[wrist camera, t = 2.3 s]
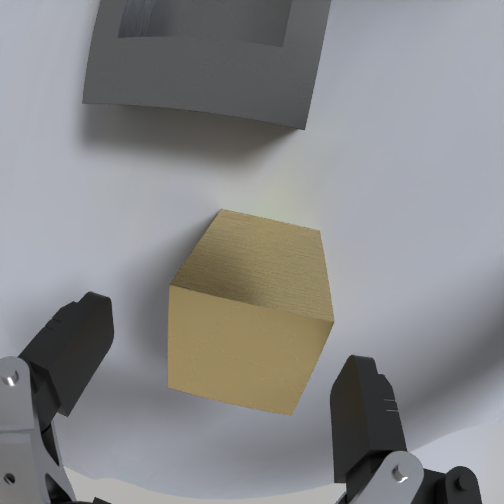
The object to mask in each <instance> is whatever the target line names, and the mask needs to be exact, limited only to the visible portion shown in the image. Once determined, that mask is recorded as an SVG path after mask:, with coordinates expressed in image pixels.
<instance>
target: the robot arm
mask: <svg viewBox="0 0 504 504" xmlns="http://www.w3.org/2000/svg"><path fill="white" fill-rule="evenodd" d="M113 338H114V326H113V315H112V303H111V299H110V298H109V297H106V296H103V295H99V294H96V293H93V292H88V293H86V294H85V295H84V297H83V298H82V299H81V300H80V301H79V302H78V303H76V302H74V301H73V302H71V303H69V304H68V305H66V306H64V307H62V308H60V310H59V311H58V312H57V313H56V314H55V315H54V316H53V317H52V320H49V322H48V323H47V324H46V325H45V328H44V327H43V328H42V329H41V331H40V332H39V333H38V334H37V335H36V336H35V337H34V339H33V340H32V341H31V342H30V343H29V344H28V346H27V347H26V348H25V349H24V350H23V351H22V353H21V354H20V355H19V356H18V357H13V356H9V357H4V358H2V359H0V504H111V503H108V502H106V501H103V500H101V499H99V498H96V497H95V498H94V501H93V503H90V502H82V501H77V500H76V498H75V494H74V492H73V489H72V486H71V484H70V482H69V479H68V478H67V475H66V473H65V470H64V467H63V463H62V459H61V455H60V450H59V446H58V441H57V436H56V431H55V426H54V421H53V418H54V416H55V414H56V413H57V412H58V413H60V414H62V415H64V416H66V417H68V416H69V414H70V413H71V411H72V409H73V407H74V406H75V404H76V402H77V401H78V399H79V397H80V396H81V394H82V392H83V391H84V389H85V387H86V386H87V384H88V382H89V381H90V379H91V378H92V376H93V374H94V373H95V371H96V370H97V368H98V366H99V365H100V363H101V362H102V360H103V358H104V357H105V355H106V354H107V352H108V351H109V349H110V347H111V345H112V342H113ZM330 409H331V423H332V440H333V460H334V483H346V488H347V489H346V490H347V491H346V492H344V493H343V494H342V496H341V497H340V498H339V499H338V501H337V502H336V503H335V504H482V500H481V495H480V490H479V485H478V481H477V478H476V476H475V474H474V473H473V472H472V471H471V470H470V469H468V468H467V467H463V466H457V467H454V468H453V469H451V470H450V471H449V472H447V473H446V474H444V473H440V472H436V471H431V470H427V469H424V468H423V466H422V464H421V462H420V461H419V459H418V458H417V457H416V456H414V455H413V454H411V453H409V452H408V451H407V448H406V443H405V438H404V434H403V429H402V425H401V421H400V417H399V412H397V410H398V408H397V404H396V402H395V396H394V393H393V389H392V386H391V385H390V383H389V382H388V380H387V379H386V377H385V376H384V375H382V374H378V373H377V369H376V365H375V361H374V359H373V358H370V357H363V356H356V355H351V356H349V358H348V359H347V361H346V363H345V365H344V366H343V368H342V370H341V372H340V374H339V375H338V377H337V379H336V381H335V382H334V384H333V387H332V390H331V394H330Z"/></svg>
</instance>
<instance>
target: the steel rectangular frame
mask: <svg viewBox="0 0 504 504" xmlns="http://www.w3.org/2000/svg"><path fill="white" fill-rule="evenodd" d="M330 3H331V0H101V2H100V6H99V10H98V14H97V18H96V23H95V27H94V32H93V37H92V42H91V47H90V52H89V58H88V64H87V71H86V77H85V85H84V93H83V101H82V104H120V105H138V106H152V107H163V108H174V109H183V110H192V111H200V112H207V113H215V114H222V115H228V116H234V117H240V118H246V119H252V120H257V121H263V122H268V123H273V124H278V125H283V126H288V127H292V128H297V129H301V130H305V127H306V122H307V118H308V113H309V108H310V103H311V99H312V94H313V89H314V84H315V79H316V75H317V70H318V65H319V60H320V55H321V50H322V45H323V40H324V34H325V29H326V24H327V19H328V14H329V8H330Z"/></svg>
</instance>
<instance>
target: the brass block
mask: <svg viewBox="0 0 504 504" xmlns="http://www.w3.org/2000/svg"><path fill="white" fill-rule="evenodd" d="M333 324H334V315H333V308H332V301H331V294H330V287H329V281H328V275H327V269H326V263H325V257H324V251H323V245H322V240H321V234H320V231H319V230H315V229H310V228H306V227H302V226H297V225H293V224H289V223H284V222H280V221H275V220H271V219H266V218H262V217H257V216H252V215H248V214H243V213H238V212H233V211H229V210H224V209H221V210H220V212H219V213H218V215H217V216H216V218H215V219H214V220H213V222H212V223H211V225H210V226H209V228H208V229H207V230H206V232H205V233H204V235H203V236H202V238H201V239H200V240H199V242H198V243H197V245H196V246H195V248H194V249H193V251H192V252H191V254H190V255H189V256H188V258H187V259H186V261H185V262H184V264H183V265H182V267H181V268H180V270H179V271H178V273H177V274H176V276H175V277H174V279H173V280H172V282H171V283H170V285H169V308H168V388H171V389H175V390H178V391H182V392H185V393H189V394H193V395H196V396H200V397H204V398H208V399H212V400H216V401H220V402H224V403H229V404H233V405H238V406H243V407H247V408H252V409H257V410H263V411H268V412H274V413H279V414H286V415H292V413H293V411H294V409H295V407H296V405H297V403H298V401H299V399H300V397H301V395H302V393H303V391H304V388H305V386H306V384H307V382H308V380H309V378H310V376H311V374H312V372H313V369H314V367H315V365H316V363H317V361H318V359H319V356H320V354H321V352H322V350H323V347H324V345H325V343H326V340H327V338H328V336H329V333H330V331H331V329H332V326H333Z"/></svg>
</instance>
